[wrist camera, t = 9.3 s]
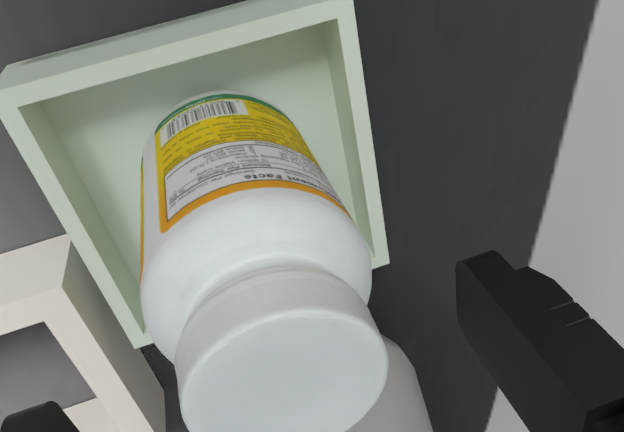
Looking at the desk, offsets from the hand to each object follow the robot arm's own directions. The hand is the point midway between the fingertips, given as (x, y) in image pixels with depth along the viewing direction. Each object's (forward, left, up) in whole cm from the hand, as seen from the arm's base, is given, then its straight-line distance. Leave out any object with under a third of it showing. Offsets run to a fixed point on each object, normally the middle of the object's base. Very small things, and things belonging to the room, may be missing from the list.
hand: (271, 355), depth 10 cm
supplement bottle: (0, 0, -9) cm, 9 cm away
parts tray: (0, 0, -9) cm, 9 cm away
